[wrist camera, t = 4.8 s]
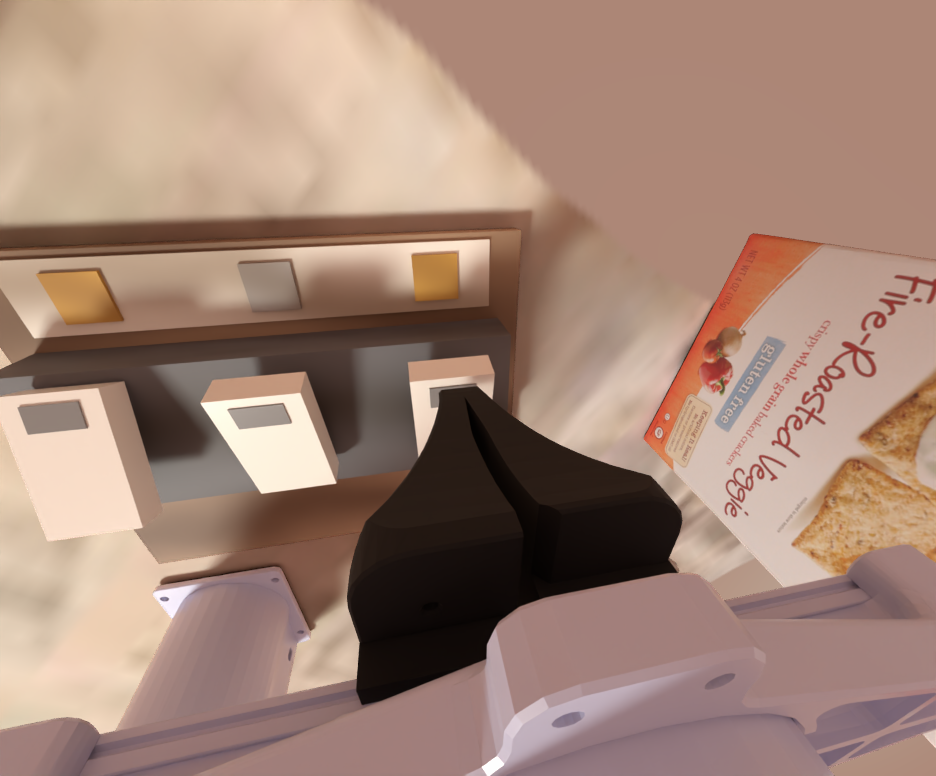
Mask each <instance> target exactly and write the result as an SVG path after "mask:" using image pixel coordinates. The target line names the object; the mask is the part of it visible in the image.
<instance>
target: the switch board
mask: <svg viewBox="0 0 936 776" xmlns="http://www.w3.org/2000/svg"><path fill="white" fill-rule="evenodd" d="M521 231H522V230H519V229H516V228H505V229H479V230H454V231H428V232H403V233H377V234H352V235H326V236H300V237H275V238H249V239H224V240H198V241H172V242H147V243H121V244H96V245H70V246H45V247H19V248H0V348H1V349H2V351H3V352H4V354H5V355H6V356H7V358H8V359H9V360H10V362H11V363H12V364H11V365H9V366H7V367H4V368H2V369H0V396H2V395H6V394H11V393H16V392H20V391H25V390H32V389H43V388H54V387H66V386H77V385H88V384H99V383H110V382H122V381H124V382H125V386H126V389H127V392H128V396H129V399H130V402H131V405H132V409H133V412H134V415H135V419H136V422H137V425H138V429H139V432H140V435H141V438H142V442H143V445H144V448H145V452H146V455H147V458H148V462H149V465H150V468H151V472H152V475H153V478H154V481H155V485H156V488H157V491H158V495H159V498H160V501H161V505H162V508H163V511H162V512H161V513H160V514H159V515H158V516H157V517H155V518H154V519H153V520H152V521H151V522H149V523H148V524H147V525H146V526H145V527H143V528H138V529H134V531H135V532H136V533H137V535H138V536H139V537H140V539H141V540H142V542H143V543H144V544H145V546H146V547H147V548H148V550H149V551H150V552H151V554H152V555H153V557H154V558H155V559H156V561H157V562H158V563H159V564H162V563H168V562H175V561H181V560H187V559H194V558H200V557H206V556H213V555H219V554H225V553H232V552H238V551H244V550H251V549H257V548H263V547H270V546H276V545H282V544H289V543H295V542H301V541H308V540H314V539H320V538H327V537H333V536H339V535H346V534H352V533H358V532H362V529H363V526H364V524H365V521H366V520H367V519H368V518H370V517H371V516H372V515H373V514H374V513H375V512H376V511H377V510H378V509H379V508H380V507H381V506H382V505H383V504H384V503H385V502H386V501H387V499H388V498H389V497H390V496H391V495H392V494H393V492H394V491H395V490H396V489H397V487H398V486H399V485H400V484H401V483H402V481H403V480H404V479H405V477H406V476H407V475H408V473H409V472H410V470H411V469H412V467H413V466H414V464H415V462H416V461H417V459H418V458H419V457H418V448H417V440H416V432H415V423H414V415H413V406H412V398H411V389H410V380H409V369H408V362H416V361H426V360H437V359H448V358H459V357H470V356H481V355H488V357H489V359H490V362H491V365H492V367H493V370H494V373H495V377H494V388H493V399H492V400H493V401H495V402H496V403H497V404H498V405H499V406H500V407H502V408H503V409H504V410H505V411H507V412H508V413H509V414H510V415H512V398H513V380H514V361H515V342H516V324H517V305H518V287H519V268H520V249H521ZM296 372H306V374H307V377H308V379H309V382H310V385H311V387H312V390H313V393H314V396H315V398H316V401H317V404H318V406H319V409H320V412H321V415H322V417H323V420H324V423H325V426H326V428H327V431H328V434H329V436H330V439H331V442H332V445H333V447H334V450H335V453H336V455H337V458H338V461H339V466H338V475H337V483H336V484H329V485H322V486H314V487H307V488H300V489H293V490H285V491H278V492H271V493H263V494H261V492H260V491H259V489H258V488H257V486H256V485H255V483H254V482H253V480H252V479H251V477H250V476H249V474H248V473H247V472H246V470H245V469H244V467H243V466H242V464H241V463H240V461H239V460H238V458H237V457H236V455H235V454H234V452H233V451H232V449H231V448H230V446H229V445H228V443H227V442H226V440H225V439H224V437H223V436H222V434H221V433H220V431H219V430H218V429H217V427H216V426H215V424H214V423H213V421H212V420H211V418H210V417H209V415H208V414H207V412H206V411H205V409H204V408H203V406H202V405H201V401H202V399H203V397H204V395H205V393H206V392H207V390H208V388H209V386H210V384H211V382H212V381H213V380H220V379H231V378H241V377H252V376H263V375H274V374H285V373H296Z"/></svg>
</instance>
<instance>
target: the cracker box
mask: <svg viewBox="0 0 936 776" xmlns="http://www.w3.org/2000/svg"><path fill="white" fill-rule="evenodd" d="M644 440H645V441H646V442H647V443H648V444H649V445H650V446H651V447H652V448H653V449H654V450H655V452H656V453H657V454H658V455H659V456H660V457H661V458H662V459H663V460H664V461H665V462H666V463H667V464H668V466H669V467H670V468H671V469H672V470H673V471H674V472H675V473H676V474H677V475H678V476H679V477H680V478H681V479H682V480H683V481H684V482H685V483H686V485H687V486H688V487H689V488H690V489H691V490H692V491H693V492H694V493H695V494H696V495H697V496H698V497H699V498H700V499H701V500H702V501H703V502H704V503H705V504H706V506H707V507H708V508H709V509H710V510H711V511H712V512H713V513H714V514H715V515H716V516H717V517H718V518H719V519H720V520H721V521H722V522H723V523H724V524H725V526H726V527H727V528H728V529H729V530H730V531H731V532H732V533H733V534H734V535H735V536H736V537H737V538H738V539H739V540H740V542H741V543H742V544H743V545H744V546H745V547H746V548H747V549H748V550H749V551H750V552H751V553H752V554H753V555H754V556H755V557H756V558H757V559H758V561H759V562H760V563H761V564H762V565H763V566H764V567H765V568H766V569H767V570H768V571H769V572H770V573H771V574H772V575H773V576H774V577H775V578H776V580H777V581H778V582H779V583H780V584H781V585H783V587H789V586H793V585H798V584H803V583H807V582H812V581H817V580H821V579H826V578H831V577H835V576H840V575H845V574H846V571H847V569H848V568H849V566H850V565H851V564H852V563H853V562H854V561H855V560H856V559H857V558H858V557H859V556H861V555H863V554H865V553H867V552H870V551H872V550H877V549H882V548H887V547H892V546H897V545H902V544H908V545H911V546H913V547H914V548H915V549H917V550H918V551H920V552H921V553H923V554H924V555H925V556H927V557H928V558H930V559H931V560H933V561H934V562H935V563H936V260H934V259H927V258H921V257H914V256H907V255H900V254H892V253H885V252H880V251H873V250H866V249H859V248H851V247H844V246H838V245H832V244H823V243H815V242H809V241H803V240H796V239H789V238H783V237H776V236H769V235H761V234H751V235H750V236H749V238H748V241H747V243H746V245H745V247H744V249H743V251H742V253H741V255H740V256H739V258H738V260H737V262H736V264H735V266H734V268H733V270H732V272H731V274H730V275H729V277H728V279H727V281H726V283H725V285H724V287H723V289H722V291H721V293H720V295H719V297H718V298H717V300H716V302H715V304H714V306H713V308H712V310H711V312H710V313H709V315H708V317H707V319H706V321H705V323H704V325H703V327H702V329H701V330H700V332H699V334H698V336H697V338H696V340H695V342H694V344H693V346H692V348H691V350H690V352H689V354H688V355H687V357H686V359H685V361H684V363H683V365H682V367H681V369H680V370H679V372H678V374H677V376H676V378H675V380H674V382H673V384H672V386H671V387H670V389H669V391H668V393H667V395H666V397H665V399H664V401H663V403H662V405H661V407H660V408H659V410H658V412H657V414H656V416H655V418H654V420H653V422H652V424H651V425H650V427H649V429H648V431H647V433H646V435H645V437H644ZM923 735H924V736H925V737H926V738H927V739H928V740H929V741H930V743H931V744H932V745H933V746H934V747H935V748H936V730H934V731H931V732H928V733H925V734H923Z"/></svg>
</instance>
